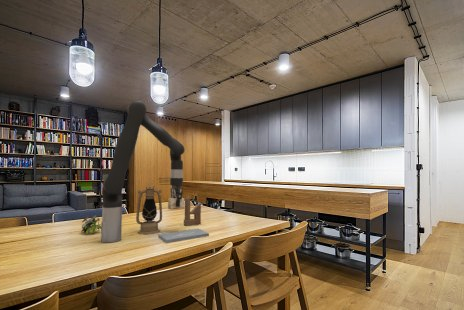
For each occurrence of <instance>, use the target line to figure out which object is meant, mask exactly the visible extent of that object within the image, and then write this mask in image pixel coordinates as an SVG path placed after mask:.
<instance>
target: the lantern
mask: <svg viewBox="0 0 464 310" xmlns="http://www.w3.org/2000/svg"><path fill="white" fill-rule="evenodd" d="M144 193H145V194H144ZM155 193H156V194H155ZM161 194H162V189H159V190H158V189H155V185H152V184H148V185H146V186H145V189H144V190H139V189H138V191H137V195H138V198H137V204H136V206H137V208H136V219H135V220H136V221H135V222H136V223H137V224H138V225H140V227H139V228H140V229H139V230H138V232H137V233H138V234H139V235H154V234H158V233H160V232H161V230H160V229H159V224H160V223H161V222H162V221H163V205H162V204H163V203H162V195H161ZM156 195H157V197H158V198H157V199H158V209H157V204H156V201H155V196H156ZM143 196H145V200H144V204H143V205H142V211H141V202H142V197H143ZM140 213H141V216H142V218H143V219H144V220H143V219H142V221H143V222H142V221H140V220H141V218H140ZM158 214H159V218H158V220H155V219H156V218H157V215H158Z"/></svg>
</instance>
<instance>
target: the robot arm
mask: <svg viewBox="0 0 464 310" xmlns="http://www.w3.org/2000/svg"><path fill="white" fill-rule="evenodd" d="M126 111H127V116H126V121H125V124H124V126H123V128H122V129H121V132H120V134H119V136H118V138H117V141H116V144H115V148H114V152H113V158H112V164H111V167H110V171H109V172H108V175H107V177H106V178H104V180H103V182H102V215H101V223H100V224H101V225H100V226H101V229H100V241H101V243H102V244H103V243H108V244H109V243H115V242H118V241H121V240H122V228H123V227H122V226H123V225H122V224H123V223H122V222H123V219H122V218H123V188H124V184H125V178H126V174H127V170H128V168H129V164H130V163H131V160H132V157H133V154H134V151H135V148H136V145H137V141H138V137H139V136H138V135H139V132H140V128H141V126H143V127H144V128H145V130H147V131H148V132H149V133H150V134H152V136H153V137H154V138H156V139H157V140H158V141H159V143H161V144H162V145H163V146H165V147H167V148H169V156H170V173H169V176H170V177H169V185H170V186H172V187H170V198H176V207H179V206H180V200H181V199H182V198H183V194H184V190H183V189H182V188H181V186H183V184H184V162H183V160H182V155H184V153H185V149H186V148H185V146H184V145H183V144H182V143H181V142H180V141H178V139H176V138H174V137H173V136H172V135H171V134H170V133H169V132H168V131H167V130H166V129H165V128H164V127H162V126H161V125H160V124H158V123H156V122H155V121H153V119H152V118H150V116H149V115H148V114H147V107H146V104H145V103H144V102H143V101H141V100H134V101H132V102H131V103H129V105H128V107H127V109H126Z"/></svg>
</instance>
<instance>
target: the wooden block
mask: <svg viewBox="0 0 464 310" xmlns="http://www.w3.org/2000/svg"><path fill="white" fill-rule="evenodd" d="M191 215H193V218H191ZM201 215H202V203H201V202H198V203H197V204H196V205H195V207H193V208H192V210H191V197H185V198H184V219H183V225H184V227H189V226H198V225H199V224H200V225H201V223H202V222H201V221H202V219H201V218H202V217H201Z"/></svg>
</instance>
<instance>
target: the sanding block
mask: <svg viewBox="0 0 464 310" xmlns="http://www.w3.org/2000/svg"><path fill="white" fill-rule="evenodd" d="M167 201H168V202H167V209H168V210H171V211H172V210H173V211H174V210H183V209H184V210H185V198H184V197H182V199H181V200H180V206H179V207H176V198H171V197H168V199H167Z"/></svg>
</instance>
